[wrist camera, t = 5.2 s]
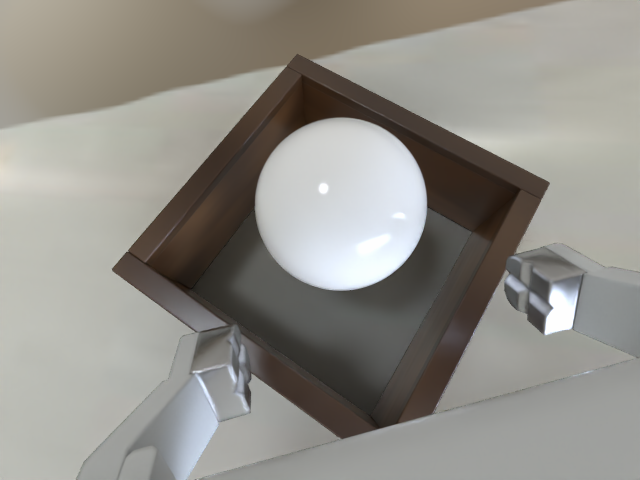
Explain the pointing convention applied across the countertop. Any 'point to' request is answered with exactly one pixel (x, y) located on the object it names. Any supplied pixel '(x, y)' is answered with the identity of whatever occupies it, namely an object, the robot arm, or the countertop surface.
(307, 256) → the lightbulb
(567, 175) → the countertop surface
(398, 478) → the robot arm
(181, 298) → the brown wooden box
